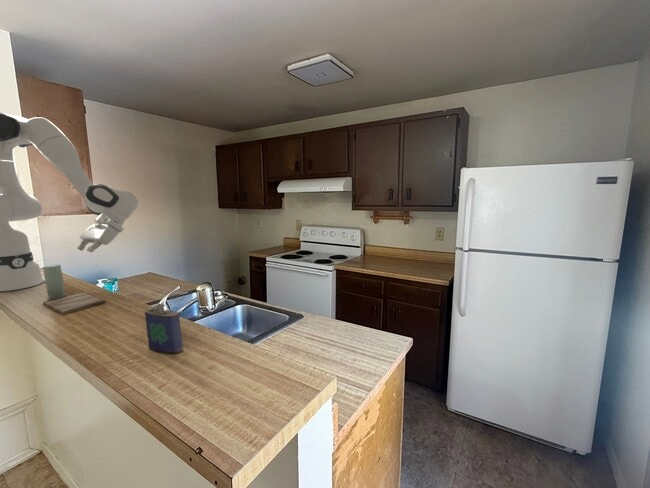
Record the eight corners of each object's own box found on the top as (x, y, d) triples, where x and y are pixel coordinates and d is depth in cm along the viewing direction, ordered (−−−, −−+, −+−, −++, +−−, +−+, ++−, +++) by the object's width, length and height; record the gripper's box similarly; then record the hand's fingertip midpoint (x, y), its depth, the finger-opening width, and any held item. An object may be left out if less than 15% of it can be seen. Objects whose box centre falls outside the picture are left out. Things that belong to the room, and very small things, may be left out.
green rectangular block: (46, 297, 117) (40, 266, 115) (63, 293, 121) (57, 264, 119) (51, 299, 114) (45, 268, 112) (67, 295, 118) (62, 265, 116)
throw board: (43, 305, 109) (42, 301, 109) (83, 294, 119) (83, 292, 119) (62, 314, 99) (62, 311, 99) (104, 302, 109) (104, 299, 109)
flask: (186, 349, 74) (180, 304, 72) (175, 356, 71) (169, 309, 69) (155, 343, 78) (149, 300, 76) (144, 350, 75) (137, 304, 73)
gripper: (90, 218, 134) (66, 244, 127) (112, 219, 123) (87, 248, 116) (103, 227, 138) (80, 253, 132) (125, 229, 127) (102, 257, 121)
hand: (84, 250), depth 124 cm, fingers open, 8 cm apart
